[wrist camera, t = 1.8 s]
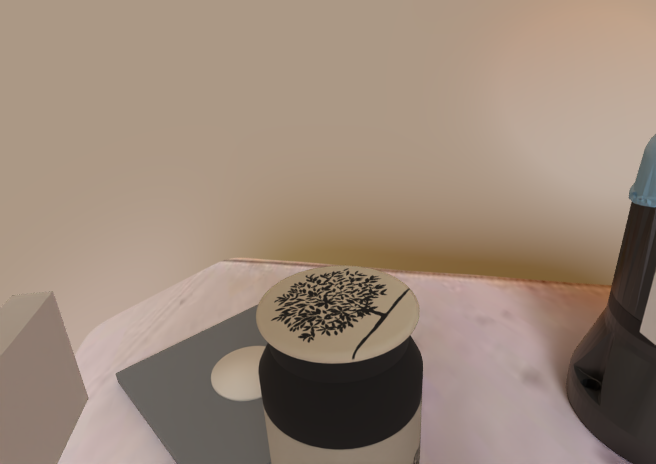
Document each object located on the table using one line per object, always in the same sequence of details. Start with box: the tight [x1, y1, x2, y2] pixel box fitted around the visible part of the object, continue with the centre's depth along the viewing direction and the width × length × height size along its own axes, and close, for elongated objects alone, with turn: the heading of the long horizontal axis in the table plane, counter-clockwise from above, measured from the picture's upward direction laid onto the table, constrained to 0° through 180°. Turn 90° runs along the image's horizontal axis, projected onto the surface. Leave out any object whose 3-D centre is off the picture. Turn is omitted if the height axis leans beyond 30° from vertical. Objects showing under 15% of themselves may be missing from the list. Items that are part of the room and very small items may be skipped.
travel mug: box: [256, 266, 423, 464], centre depth 25 cm, size 8×8×18 cm
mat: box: [116, 304, 272, 464], centre depth 43 cm, size 18×18×1 cm
